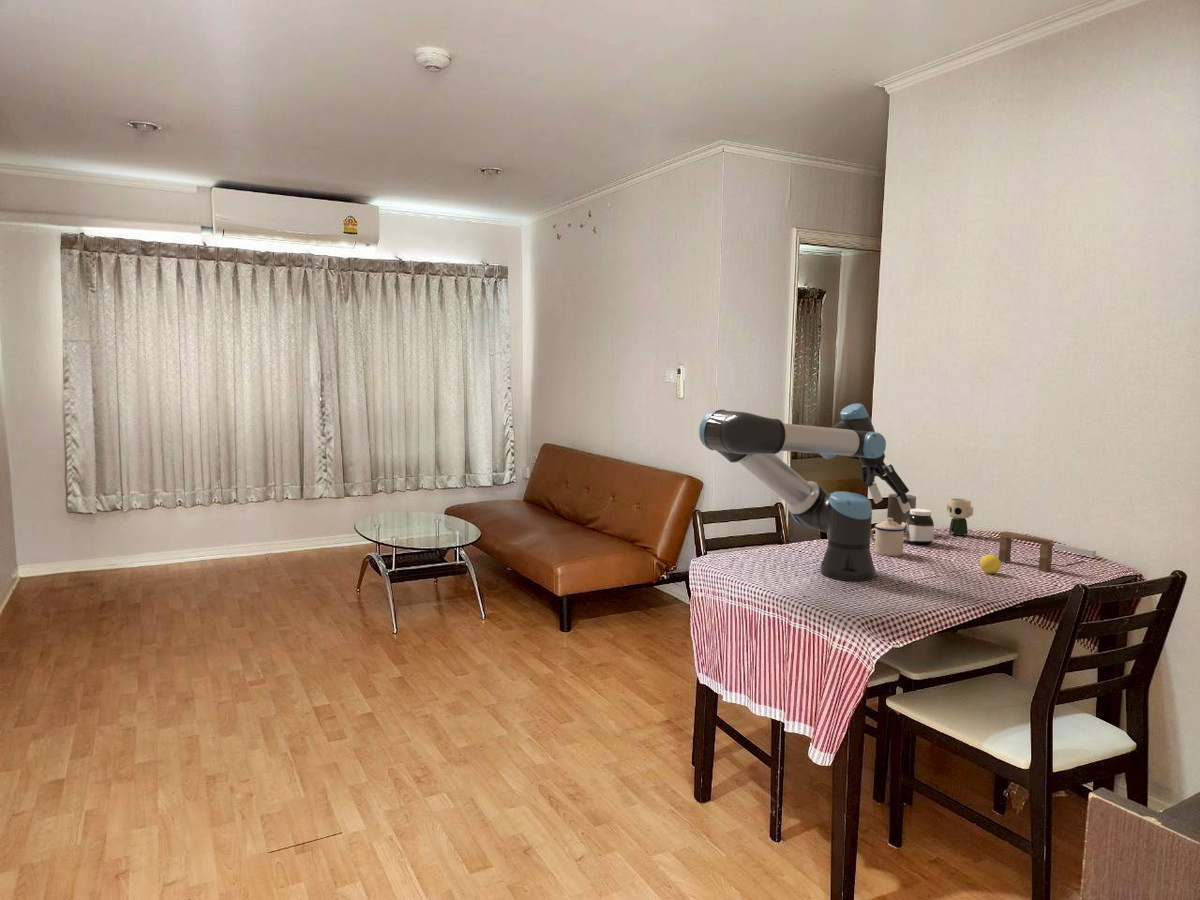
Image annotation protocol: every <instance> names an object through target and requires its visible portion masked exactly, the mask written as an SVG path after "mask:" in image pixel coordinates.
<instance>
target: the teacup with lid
mask: <svg viewBox="0 0 1200 900" xmlns="http://www.w3.org/2000/svg"><path fill="white" fill-rule="evenodd" d="M904 530H905V528H904V526H902V525H900V524H898V523H897V522H895V521H893V518H886V520H884V521H882V522H879V523H876V524H875V525H874V528H871V536H870V541H871V542H872V543H874V553H875V554H877V555H880V556H884V555H885V557H901V556H902V555H903V554H904ZM874 532H875V535H874ZM874 536H875V537H874Z"/></svg>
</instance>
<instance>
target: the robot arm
mask: <svg viewBox="0 0 1200 900" xmlns="http://www.w3.org/2000/svg"><path fill="white" fill-rule="evenodd" d="M839 414H840V418H841V420H840V421H838V422H837V423H836V424H834V425H833V426H831V427H825V426H815V425H804V424H795V423H784V422H783V421H782V420H781V419H779V418H770V417H766V416H762V415H757V414H754V413H751V412H744V411H734V410H726V409H715V410H711V411H709V412H708V413H707V414H706V415H705V416H703V418H702V420H701V422H700V424H699V427H698V431H699V434H698V436H699V440H700V442H701V444H703V446H704V447H705V448H707V449H709V450H711V451H716V452H717V453H719V454H720V455H721V456H723V457H724V458H725V459H726V460H727V461H729V462H730V463H733V464H734V463H735V464H736V463H739V464H740V465H741V466H743V467H744V468H745V469H746V470H748V471H749V472H750V473H751V474H752V475H753V476H754V477H755V478H757V479H758V480H759V481H760V482H762V483H763V484H764V485H765V486H766V487H767V488H769V489H770V490H772V491H773V493H775V494H776V495H777V496H779V497H780V498H781V499H782V500H783V501H784V502H786V503H787V509H788V511H789V512H790V514H791V517H792V519H793V520H794V521H795V522H796V523H797V524H798V525H800V526H802V527H804V528H806V529H813V530H816V531H819V532H823V533H826V534H827V535H828V536H827V548H826V550H825V553H824V556H823V558H822V561H821V563H820V574H821V575H823V576H825V577H828V578H831V579H836V580H840V581H841V580H843V581H854V582H855V581H858V582H859V581H861V582H863V581H871V580H872V579H875V578H876V567H875V565H874V560H873V557H872V554H871V538H870V536H871V530H872V516H873V510H872V501H871V500H870V498H869V497H868V496H865V495H864V494H861V493H858V492H857V493H856V492H850V491H834V492H831V493H829V492H827V491H826V490H825V489H824V488H823V487H821V486H820V485H819V484H818V483H817V482H815V481H814V480H813V481H811V480H808V481H807V480H805V479H804V478H803V477H802V476H801V474H799V473H797V471H795V470H794V469H793V468H791V466H790V465H788V464H787V463H786V462H785V461H783V460H782V459H781V458H780V457H779V456H778V455H777V454H779V453H780V452H796V453H807V454H818V455H820V456H821V457H822V458H823V459H826V460H832V459H833V458H835V457H836V456H848V457H855V458H856V457H857V458H858V459H859V461H858V465H859V467H860V468H859V469H860V482H861V483H862V484H865V486H866V487H867V488H868V489H869V490H868V491H869V492H870V495H871V497H872V500H873V502H874V504H878V503H880V502H881V501H883V497H882V494H881V492H880V489H879V487H878V485H877V483H876V480H875V479H876V477H878V478H880V480H882V481H884V482H885V483H886V484H887V486H889V487H890V488H891V490H893V492H894V494H897V495H896V497H897V499H898V502H899V504H900V506H901V509H902V511H903V513H906V512H908V511H909V510H910V509H911V507H910V504H909V502H908V499H907V496H906V494H908V493H909V492H910V489H909V488H908V487H907V485H906V484H905V482H904V481H903V480H902V478H901V477H900V476H899V474H898V473H897V472H896V470H895V468H894V466H893V464H889V465H887V464H886V463H885V462H884V461H885V458H886V454H885V452H886V447H887V446H886V445H887V441H886V438H885V437H884V435H883V434H882V433H880V432H876V431H875V427H874V426H873V423H872V420H871V418H870V414H869V413H868V411H867V409H866V407H865V406H864V405H863V403H852V404H850V405H847V406H844V407H843V408H842V409H841V411H840V413H839Z"/></svg>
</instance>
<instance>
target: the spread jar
mask: <svg viewBox="0 0 1200 900" xmlns="http://www.w3.org/2000/svg"><path fill="white" fill-rule="evenodd" d="M901 525H902V526H904V527H905V525H906V535H905V540H906V541H907V543H908V544H909V543H910V545H913V544H915V545H914V546H920V545H926V546H929V545H931V544H933V541H934V535H935V534H934V532H935V524H934V520H933V518H932V510H930V509H925V508H916V509H910V515H909V516H908V518H907V520H906V523H904V522H902V524H901Z"/></svg>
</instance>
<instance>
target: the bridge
mask: <svg viewBox="0 0 1200 900" xmlns="http://www.w3.org/2000/svg"><path fill="white" fill-rule="evenodd" d="M1012 540H1017V541H1024V542H1028V543H1034V544H1039V545H1040V546H1039V547H1040V548H1039V553H1040V559H1039V561H1038V562H1039V563H1038V571H1040V570H1041V571H1042V572H1049V571H1052V564H1051V563H1052V554H1053V550H1054V540H1053V539H1049V538H1043V537H1037V536H1031V535H1026V534H1021V533H1018V532H1017V533H1016V532H1012V531H1011V532H1010V531H1000V533H999V548H998V551H999V552H998V559H999V560H1000V561H1003V562H1002V563H1004V562H1005V563H1007V562H1006V561H1010V562H1011V556H1012V555H1011V554H1012V553H1011V552H1012V543H1013V542H1012Z"/></svg>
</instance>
